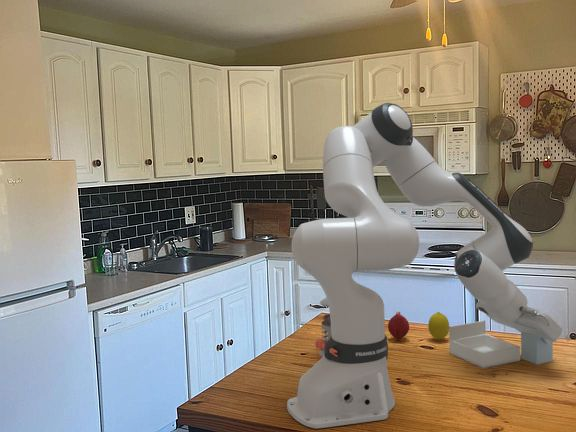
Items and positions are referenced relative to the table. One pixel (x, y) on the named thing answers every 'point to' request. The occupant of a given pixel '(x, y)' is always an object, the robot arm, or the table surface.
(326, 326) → the french press
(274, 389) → the table surface
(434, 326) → the lemon
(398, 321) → the onion
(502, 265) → the robot arm
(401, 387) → the table surface
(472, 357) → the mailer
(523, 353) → the carton
